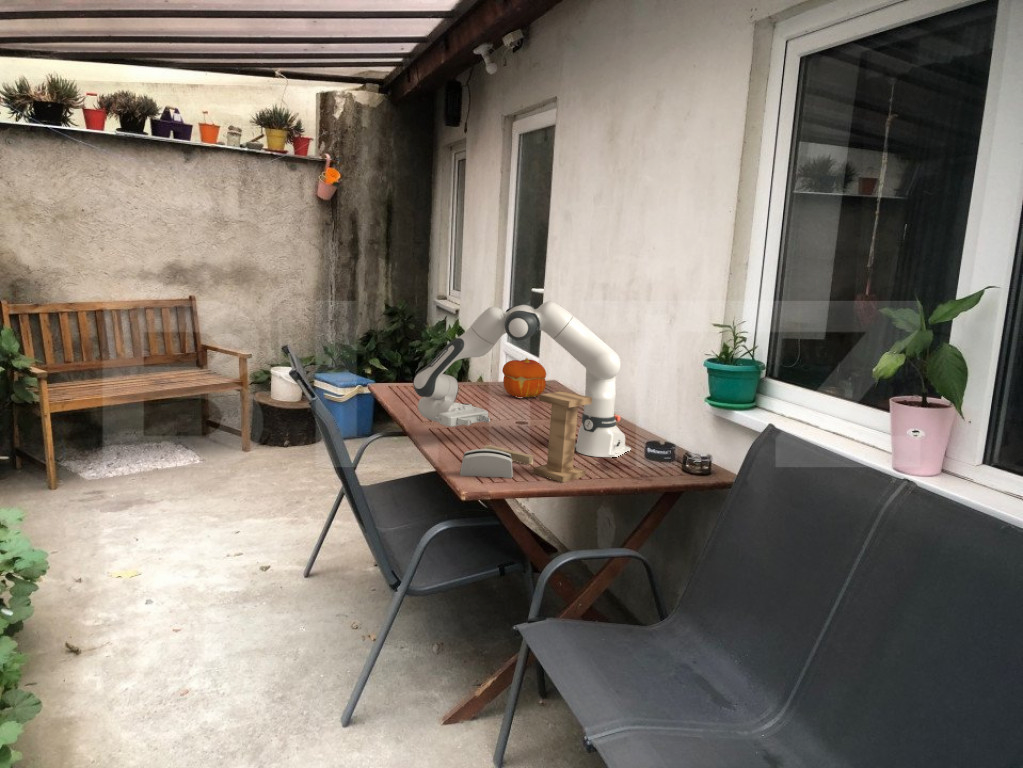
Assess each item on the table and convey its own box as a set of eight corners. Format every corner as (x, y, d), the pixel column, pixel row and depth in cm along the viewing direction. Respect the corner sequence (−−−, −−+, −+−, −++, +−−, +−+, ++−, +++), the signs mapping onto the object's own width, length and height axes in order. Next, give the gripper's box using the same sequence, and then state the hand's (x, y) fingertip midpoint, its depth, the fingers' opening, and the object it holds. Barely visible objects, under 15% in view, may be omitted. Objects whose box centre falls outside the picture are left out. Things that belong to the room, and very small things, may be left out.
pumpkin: (521, 403, 350) (524, 362, 346) (491, 394, 366) (493, 355, 363) (555, 399, 365) (558, 360, 362) (524, 391, 381) (527, 353, 378)
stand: (556, 467, 243) (562, 391, 239) (585, 476, 235) (592, 397, 231) (533, 473, 234) (539, 394, 230) (562, 482, 227) (569, 401, 222)
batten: (487, 453, 256) (488, 444, 255) (532, 464, 246) (533, 455, 245) (483, 454, 254) (484, 445, 253) (528, 466, 244) (529, 457, 243)
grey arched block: (512, 473, 233) (514, 447, 228) (512, 482, 229) (515, 456, 224) (460, 470, 232) (461, 445, 227) (459, 479, 228) (460, 453, 223)
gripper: (431, 408, 258) (458, 416, 249) (472, 403, 273) (499, 410, 264) (430, 425, 259) (457, 434, 250) (471, 419, 274) (498, 427, 265)
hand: (479, 421), depth 257 cm, fingers open, 8 cm apart
